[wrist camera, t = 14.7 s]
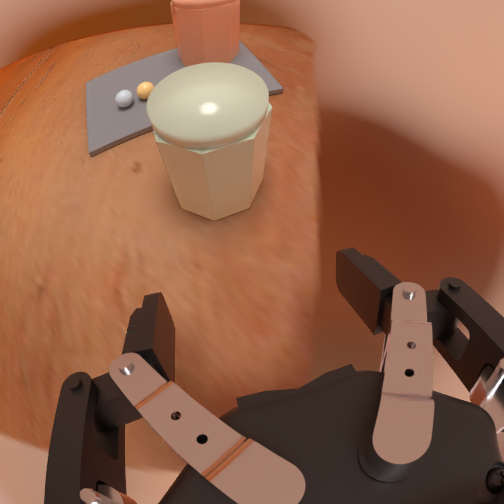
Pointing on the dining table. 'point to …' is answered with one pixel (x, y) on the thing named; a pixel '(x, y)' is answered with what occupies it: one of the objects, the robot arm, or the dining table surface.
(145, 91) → the amber marble
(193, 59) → the faceted peach canister
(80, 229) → the dining table surface
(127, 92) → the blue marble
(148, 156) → the dining table surface
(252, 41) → the dining table surface
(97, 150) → the slate mat
